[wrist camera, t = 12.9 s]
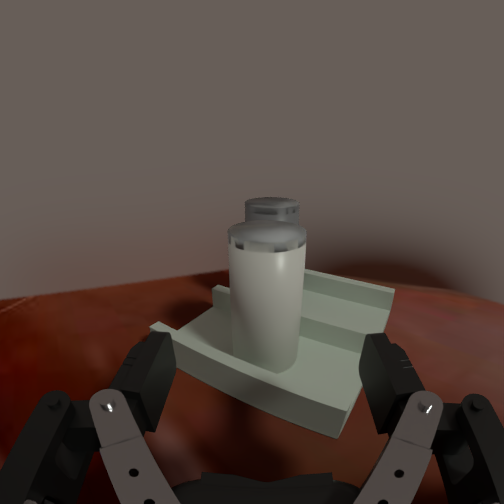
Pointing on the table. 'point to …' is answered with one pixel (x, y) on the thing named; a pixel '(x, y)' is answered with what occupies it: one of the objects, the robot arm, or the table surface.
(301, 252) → the white cylinder
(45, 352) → the table surface
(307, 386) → the divided tray
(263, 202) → the grey cylinder
